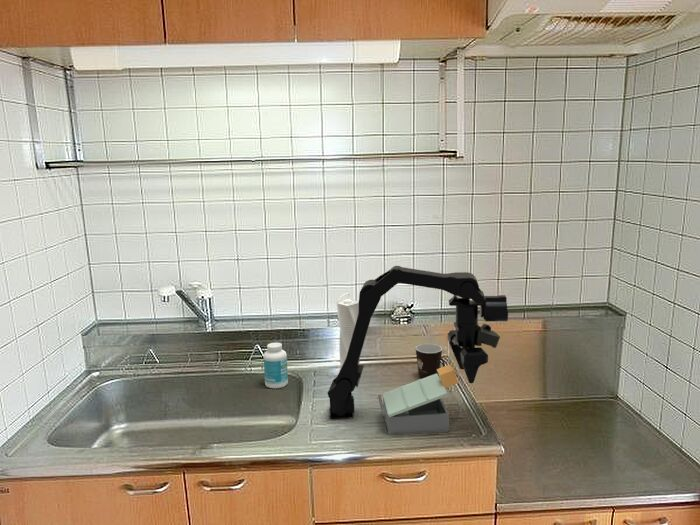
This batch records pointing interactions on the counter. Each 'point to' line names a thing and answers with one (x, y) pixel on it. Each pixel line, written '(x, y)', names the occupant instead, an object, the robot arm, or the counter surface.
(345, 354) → the skyscraper
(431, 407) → the parts tub
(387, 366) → the counter surface
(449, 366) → the lid
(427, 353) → the coffee mug
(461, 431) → the counter surface
